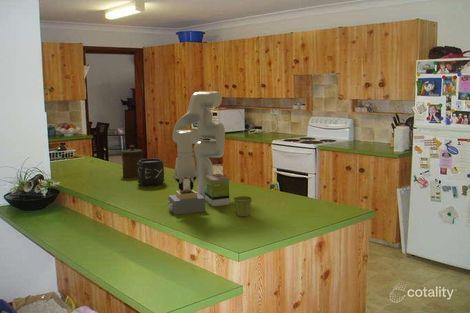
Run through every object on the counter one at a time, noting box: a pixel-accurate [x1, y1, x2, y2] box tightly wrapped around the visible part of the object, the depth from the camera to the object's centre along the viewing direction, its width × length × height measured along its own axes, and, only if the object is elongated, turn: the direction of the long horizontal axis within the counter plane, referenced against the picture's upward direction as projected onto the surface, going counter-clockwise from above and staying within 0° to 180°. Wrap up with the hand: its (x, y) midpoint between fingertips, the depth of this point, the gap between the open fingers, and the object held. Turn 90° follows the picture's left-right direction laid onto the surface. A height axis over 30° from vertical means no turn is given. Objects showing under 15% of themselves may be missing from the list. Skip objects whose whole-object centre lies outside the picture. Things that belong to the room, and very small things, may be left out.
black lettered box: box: [137, 158, 165, 188], centre depth 328 cm, size 18×18×16 cm
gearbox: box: [166, 189, 206, 216], centre depth 261 cm, size 18×14×10 cm
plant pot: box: [233, 195, 253, 217], centre depth 248 cm, size 9×9×9 cm
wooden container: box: [121, 144, 144, 178], centre depth 359 cm, size 15×15×22 cm
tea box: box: [204, 173, 231, 207], centre depth 275 cm, size 15×10×15 cm, turn 21°
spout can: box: [181, 177, 191, 194], centre depth 260 cm, size 5×5×10 cm
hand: (186, 189), depth 260 cm, fingers closed on spout can, 4 cm apart
